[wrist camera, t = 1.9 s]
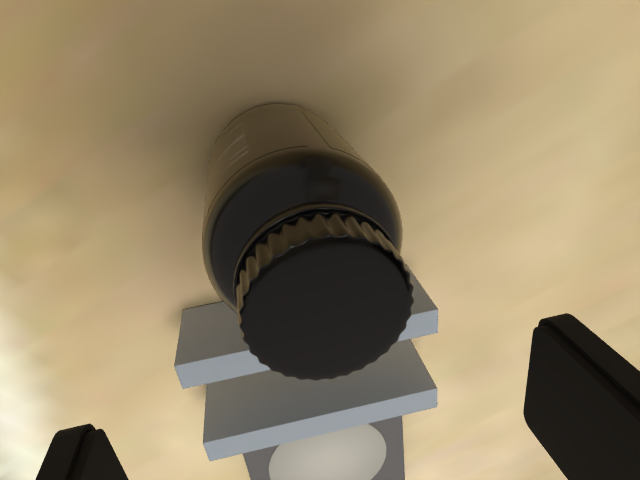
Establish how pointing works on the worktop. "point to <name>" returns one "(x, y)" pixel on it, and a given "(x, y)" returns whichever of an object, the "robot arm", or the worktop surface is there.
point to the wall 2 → (312, 403)
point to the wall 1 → (233, 353)
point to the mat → (335, 455)
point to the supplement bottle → (304, 245)
